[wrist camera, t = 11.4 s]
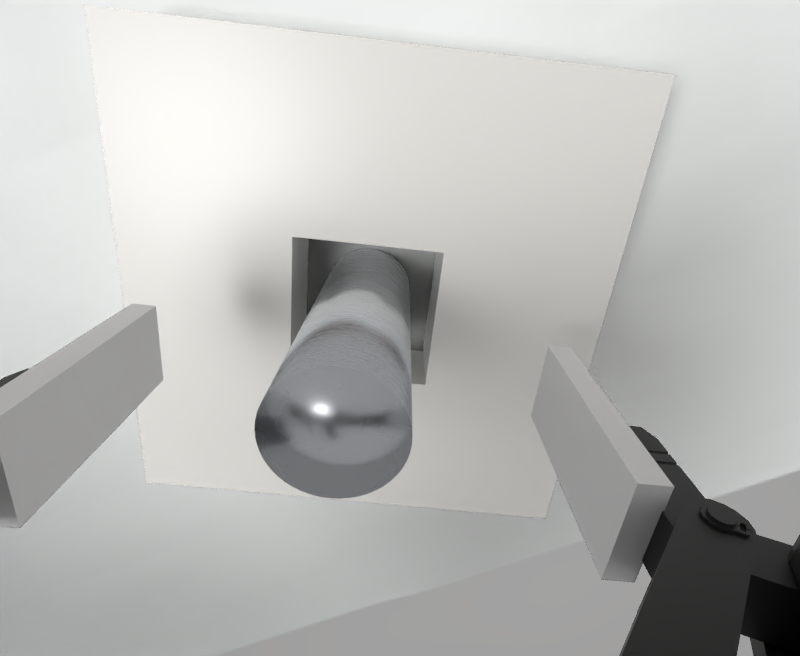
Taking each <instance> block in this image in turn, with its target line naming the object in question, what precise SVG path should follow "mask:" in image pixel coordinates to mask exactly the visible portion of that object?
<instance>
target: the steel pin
mask: <svg viewBox="0 0 800 656" xmlns="http://www.w3.org/2000/svg"><path fill="white" fill-rule="evenodd" d="M254 430H255V439H256V443H257V447H258V449H259V451H260V454H261V456H262V458H263V459H264V461H265V463H266V464H267V465H268V466H269V468H270V469H271V470H272V471H273V472H274V473H275V474H276V475H277V476H278V477H279V478H280V479H282V480H283V481H284V482H286V483H287V484H289V485H291V486H292V487H294V488H296V489H298V490H300V491H302V492H305V493H308V494H311V495H315V496H319V497H325V498H336V499H342V498H352V497H358V496H362V495H365V494H369V493H371V492H373V491H376V490H378V489H380V488H381V487H383V486H385V485H386V484H387V483H389V482H390V481H391V480H392V479H394V478H395V477H396V476H397V475H398V473H399V472H400V471H401V470H402V468H403V467H404V465H405V463H406V462H407V460H408V457H409V454H410V451H411V447H412V436H413V434H412V380H411V326H410V285H409V279H408V276H407V274H406V272H405V270H404V268H403V267H402V265H401V264H400V263H399V262H398V261H397V260H396V259H395V258H394V257H393V256H391V255H389V254H388V253H385V252H383V251H380V250H376V249H359V250H355V251H352V252H350V253H348V254H346V255H344V256H343V257H342V258H341V259H339V260H338V261H337V263H336V264H335V265H334V267H333V268H332V270H331V272H330V274H329V276H328V278H327V279H326V281H325V283H324V285H323V287H322V289H321V291H320V293H319V294H318V296H317V298H316V300H315V302H314V304H313V306H312V308H311V310H310V311H309V313H308V315H307V317H306V319H305V321H304V323H303V325H302V326H301V328H300V330H299V332H298V334H297V336H296V338H295V340H294V341H293V343H292V345H291V347H290V349H289V351H288V353H287V355H286V357H285V358H284V360H283V362H282V364H281V366H280V368H279V370H278V372H277V373H276V375H275V377H274V379H273V381H272V383H271V385H270V387H269V388H268V390H267V392H266V394H265V396H264V398H263V400H262V402H261V404H260V406H259V408H258V411H257V414H256V419H255V429H254Z"/></svg>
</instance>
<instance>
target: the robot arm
mask: <svg viewBox="0 0 800 656" xmlns="http://www.w3.org/2000/svg"><path fill="white" fill-rule="evenodd" d="M162 381H163V371H162V361H161V351H160V341H159V331H158V321H157V312H156V306H152V305H142V304H131V305H129V306H127V307H126V308H124V309H123V310H121V311H120V312H118V313H116V314H115V315H113V316H112V317H110V318H109V319H107V320H105V321H104V322H102V323H101V324H99V325H98V326H96V327H94V328H93V329H91V330H90V331H88V332H87V333H85V334H83V335H82V336H80V337H79V338H77V339H76V340H74V341H73V342H71V343H69V344H68V345H66V346H65V347H63V348H62V349H60V350H58V351H57V352H55V353H54V354H52V355H51V356H49V357H47V358H46V359H44V360H43V361H41V362H40V363H38V364H36V365H35V366H33V367H32V368H30V369H25V370H23V371H20V372H17V373H15V374H12V375H9V376H7V377H4V378H3V379H1V380H0V527H11V528H21V527H22V526H23V525H24V524H25V523H26V522H27V521H28V520H29V518H30V517H31V516H32V515H33V514H34V513H35V512H36V511H37V510H38V509H39V508H40V507H41V506H42V505H43V504H44V503H45V502H46V501H47V500H48V499H49V498H50V497H51V496H52V495H53V494H54V493H55V492H56V491H57V490H58V488H59V487H60V486H61V485H62V484H63V483H64V482H65V481H66V480H67V479H68V478H69V477H70V476H71V475H72V474H73V473H74V472H75V471H76V470H77V469H78V468H79V467H80V466H81V465H82V464H83V463H84V462H85V461H86V460H87V459H88V457H89V456H90V455H91V454H92V453H93V452H94V451H95V450H96V449H97V448H98V447H99V446H100V445H101V444H102V443H103V442H104V441H105V440H106V439H107V438H108V437H109V436H110V435H111V434H112V433H113V432H114V431H115V430H116V429H117V427H118V426H119V425H120V424H121V423H122V422H123V421H124V420H125V419H126V418H127V417H128V416H129V415H130V414H131V413H132V412H133V411H134V410H135V409H136V408H137V407H138V406H139V405H140V404H141V403H142V402H143V401H144V400H145V399H146V398H147V396H148V395H149V394H150V393H151V392H152V391H153V390H154V389H155V388H156V387H157V386H158V385H159V384H160V383H161V382H162ZM531 417H532V419H533V422H534V424H535V426H536V429H537V431H538V433H539V436H540V438H541V440H542V443H543V445H544V447H545V450H546V452H547V454H548V457H549V459H550V461H551V464H552V466H553V468H554V471H555V473H556V475H557V478H558V480H559V482H560V485H561V487H562V489H563V491H564V494H565V496H566V498H567V501H568V503H569V505H570V508H571V510H572V512H573V515H574V517H575V519H576V522H577V524H578V526H579V529H580V531H581V533H582V536H583V538H584V540H585V543H586V545H587V547H588V550H589V552H590V554H591V556H592V559H593V561H594V564H595V566H596V568H597V570H598V573H599V575H600V577H601V580H614V581H624V582H635V580H636V578H637V575H638V573H639V570H640V568H641V566H642V563H643V564H644V565H645V567H646V569H647V571H648V573H649V575H650V576H651V578H652V579H651V582H650V584H649V586H648V589H647V591H646V593H645V596H644V598H643V600H642V603H641V605H640V607H639V609H638V612H637V615H636V617H635V619H634V622H633V624H632V627H631V629H630V632H629V634H628V636H627V639H626V641H625V644H624V646H623V648H622V651H621V653H620V656H736V655H737V650H738V644H739V639H740V634H742V635H745V636H748V637H750V641H751V645H752V650H753V655H754V656H800V535H799V537H798V539H797V540H796V542H795V544H794V546H791V545H788V544H785V543H782V542H779V541H775V540H772V539H769V538H766V537H762V536H759V535H756V532H755V529H754V528H753V527H752V525H751V524H750V523H749V521H748V520H746V519H745V518H744V517H743V516H741V515H740V514H739V513H738V512H736V511H735V510H733V509H731V508H729V507H728V506H726V505H724V504H721V503H718V502H716V501H713V500H711V499H705V498H704V496H703V495H702V494H701V493H700V491H699V490H698V489H697V488H696V486H695V485H694V484H693V483H692V481H691V480H690V479H689V478H688V477H687V475H686V474H685V473H684V472H683V470H682V469H681V468H680V467H679V466H678V465H676V462H675V460H674V459H673V458H672V457H671V455H668V452H667V450H666V449H665V448H664V447H663V445H662V444H661V443H660V442H659V440H658V439H657V438H655V437H654V436H652V435H651V434H650V433H648V432H647V431H646V430H644V429H643V428H642V427H635V426H629V425H628V424H627V423H626V421H625V420H624V419H623V417H622V416H621V414H620V413H619V412H618V410H617V409H616V408H615V406H614V405H613V404H612V402H611V401H610V400H609V398H608V397H607V396H606V394H605V393H604V392H603V390H602V389H601V388H600V386H599V385H598V384H597V382H596V381H595V380H594V378H593V377H592V376H591V374H590V373H589V372H588V370H587V369H586V368H585V366H584V365H583V363H582V362H581V361H580V359H579V358H578V357H577V355H576V354H575V353H574V351H573V350H572V349H571V348H565V347H555V346H548V349H547V353H546V357H545V361H544V365H543V369H542V373H541V377H540V381H539V385H538V389H537V393H536V397H535V401H534V405H533V410H532V414H531Z"/></svg>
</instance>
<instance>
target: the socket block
mask: <svg viewBox="0 0 800 656" xmlns="http://www.w3.org/2000/svg"><path fill="white" fill-rule="evenodd" d="M84 8H85V16H86V24H87V32H88V39H89V47H90V55H91V62H92V70H93V78H94V85H95V93H96V101H97V108H98V116H99V124H100V131H101V139H102V147H103V155H104V162H105V170H106V178H107V185H108V193H109V201H110V208H111V216H112V224H113V231H114V239H115V247H116V254H117V262H118V270H119V278H120V285H121V293H122V301H123V308H126V307H127V306H129V305H131V304H142V305H152V306H156V312H157V321H158V331H159V341H160V351H161V361H162V371H163V381H162V382H161V383H160V384H159V385H158V386H157V387H156V388H155V389H154V390H153V391H152V392H151V393H150V394H149V395H148V396H147V398H146V399H145V400H144V401H143V402H142V403H141V404H140V405H139V406H138V407H137V416H138V424H139V431H140V439H141V447H142V454H143V462H144V470H145V477H146V482H148V483H158V484H169V485H180V486H191V487H202V488H213V489H224V490H235V491H246V492H257V493H268V494H279V495H290V496H301V497H312V498H323V499H333V500H344V501H355V502H366V503H377V504H388V505H399V506H410V507H421V508H432V509H443V510H454V511H465V512H476V513H487V514H498V515H508V516H519V517H530V518H541V519H546V515H547V512H548V508H549V505H550V502H551V498H552V495H553V491H554V488H555V485H556V481H557V475H556V473H555V471H554V468H553V466H552V464H551V461H550V459H549V457H548V454H547V452H546V450H545V447H544V445H543V443H542V440H541V438H540V436H539V433H538V431H537V429H536V426H535V424H534V422H533V419H532V417H531V414H532V410H533V405H534V401H535V397H536V393H537V389H538V385H539V381H540V377H541V373H542V369H543V365H544V361H545V357H546V353H547V349H548V346H555V347H565V348H571V349H572V350H573V351H574V353H575V354H576V355H577V357H578V358H579V359H580V361H581V362H582V363H583V365H584V366H585V368H586V369H587V370H588V372H589V369H590V365H591V362H592V358H593V355H594V351H595V348H596V345H597V341H598V338H599V334H600V331H601V328H602V324H603V321H604V317H605V314H606V311H607V307H608V304H609V300H610V297H611V293H612V290H613V287H614V283H615V280H616V276H617V273H618V270H619V266H620V263H621V259H622V256H623V252H624V249H625V246H626V242H627V239H628V235H629V232H630V229H631V225H632V222H633V218H634V215H635V212H636V208H637V205H638V201H639V198H640V194H641V191H642V188H643V184H644V181H645V177H646V174H647V171H648V167H649V164H650V160H651V157H652V154H653V150H654V147H655V143H656V140H657V136H658V133H659V130H660V126H661V123H662V119H663V116H664V113H665V109H666V106H667V102H668V99H669V95H670V92H671V89H672V85H673V82H674V78H675V75H673V74H664V73H656V72H648V71H639V70H631V69H622V68H614V67H606V66H597V65H589V64H580V63H572V62H563V61H555V60H547V59H538V58H530V57H521V56H513V55H505V54H496V53H488V52H479V51H471V50H462V49H454V48H446V47H437V46H429V45H420V44H412V43H404V42H395V41H387V40H378V39H370V38H361V37H353V36H345V35H336V34H328V33H319V32H311V31H302V30H294V29H286V28H277V27H269V26H260V25H252V24H244V23H235V22H227V21H218V20H210V19H201V18H193V17H185V16H176V15H168V14H159V13H151V12H143V11H134V10H126V9H117V8H109V7H100V6H92V5H84ZM309 239H318V240H327V241H337V242H346V243H356V244H365V245H374V246H384V247H393V248H402V249H412V250H421V251H431V252H436V258H435V266H434V273H433V280H432V287H431V295H430V302H429V309H428V317H427V324H426V331H425V339H424V346H423V351H419V350H411V380H412V434H413V436H412V447H411V451H410V454H409V457H408V460H407V462H406V463H405V465H404V467H403V468H402V470H401V471H400V472H399V473H398V475H397V476H396V477H395V478H394V479H392V480H391V481H390V482H389V483H387V484H386V485H385V486H383V487H381V488H380V489H378V490H376V491H373V492H371V493H369V494H365V495H362V496H358V497H352V498H342V499H336V498H325V497H319V496H315V495H311V494H308V493H305V492H302V491H300V490H298V489H296V488H294V487H292V486H291V485H289V484H287V483H286V482H284V481H283V480H282V479H280V478H279V477H278V476H277V475H276V474H275V473H274V472H273V471H272V470H271V469H270V468H269V466H268V465H267V464H266V463H265V461H264V459H263V458H262V456H261V454H260V451H259V449H258V447H257V443H256V439H255V430H254V429H255V419H256V414H257V411H258V408H259V406H260V404H261V402H262V400H263V398H264V396H265V394H266V392H267V390H268V388H269V387H270V385H271V383H272V381H273V379H274V377H275V375H276V373H277V372H278V370H279V368H280V366H281V364H282V362H283V360H284V358H285V357H286V355H287V353H288V351H289V349H290V347H291V345H292V343H293V341H294V340H295V338H296V336H297V334H298V332H299V330H300V328H301V326H302V325H303V323H304V321H305V319H306V313H307V280H308V246H309Z"/></svg>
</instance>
